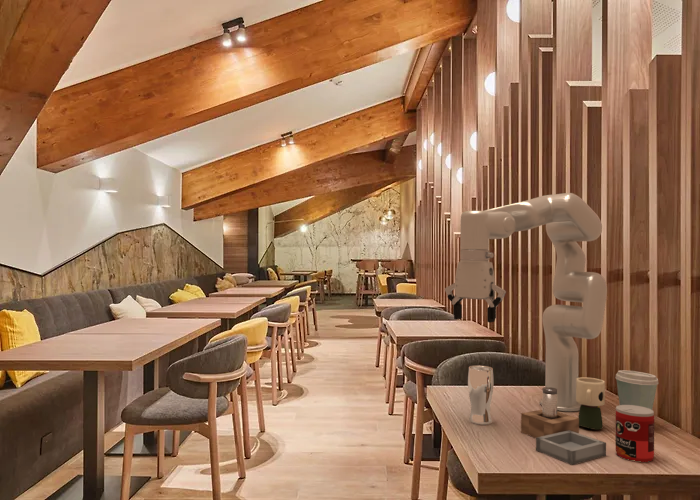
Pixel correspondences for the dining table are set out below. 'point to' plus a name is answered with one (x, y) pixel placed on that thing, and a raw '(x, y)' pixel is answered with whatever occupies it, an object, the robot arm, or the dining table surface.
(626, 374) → the disposable coffee cup
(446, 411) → the dining table surface
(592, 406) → the character mug
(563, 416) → the block
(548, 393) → the pin
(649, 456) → the canned food
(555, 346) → the robot arm
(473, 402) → the beer glass
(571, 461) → the tray
